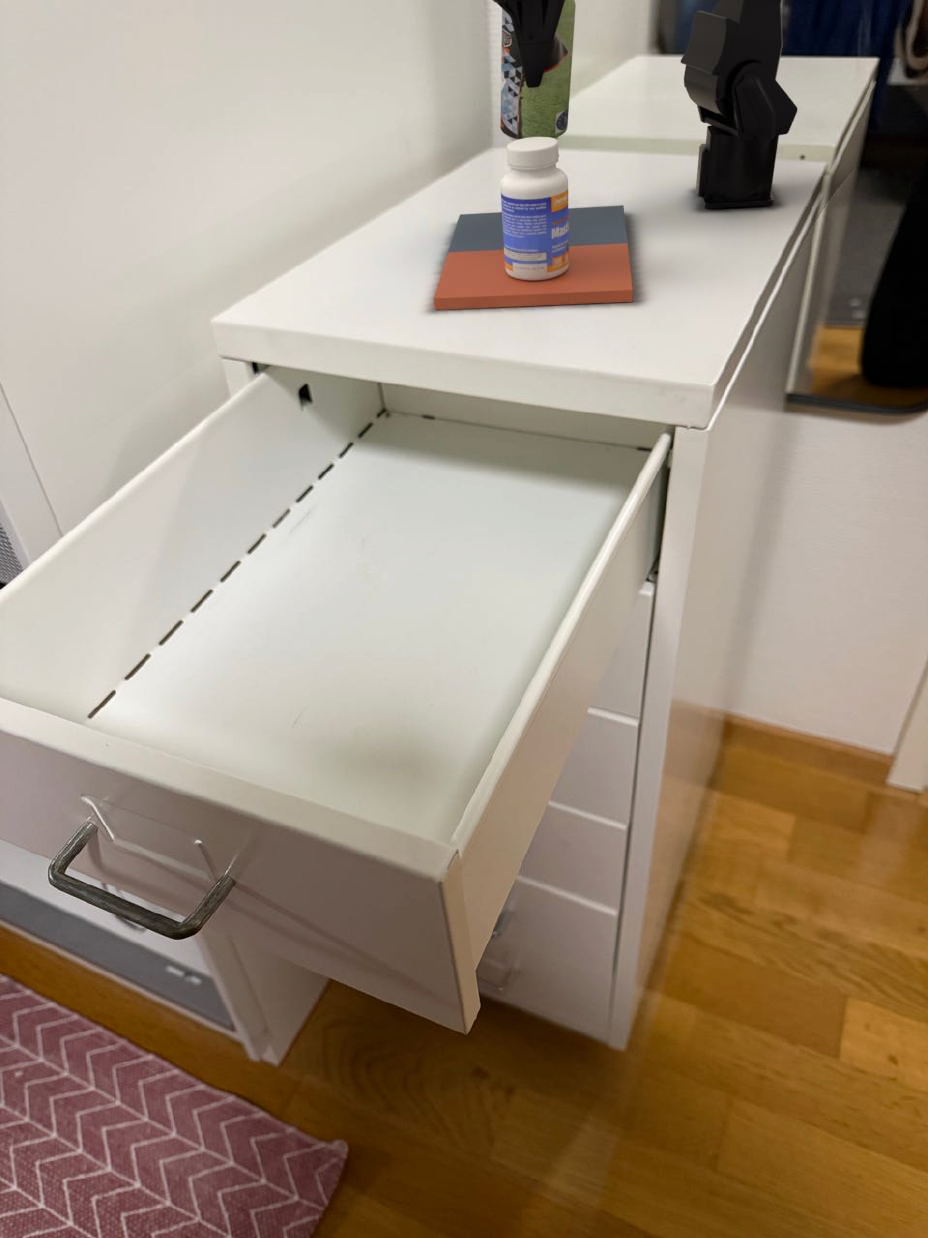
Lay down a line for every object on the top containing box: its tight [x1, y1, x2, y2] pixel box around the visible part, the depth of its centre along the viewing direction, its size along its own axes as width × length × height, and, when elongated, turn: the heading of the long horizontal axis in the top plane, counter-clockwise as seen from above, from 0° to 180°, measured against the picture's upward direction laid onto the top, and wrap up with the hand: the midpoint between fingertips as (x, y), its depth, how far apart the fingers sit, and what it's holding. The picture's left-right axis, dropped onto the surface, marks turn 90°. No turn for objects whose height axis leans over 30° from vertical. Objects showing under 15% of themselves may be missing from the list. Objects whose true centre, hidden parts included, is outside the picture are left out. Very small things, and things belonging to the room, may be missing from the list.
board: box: [433, 205, 634, 311], centre depth 78 cm, size 16×21×1 cm
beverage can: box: [499, 0, 577, 142], centre depth 75 cm, size 6×7×12 cm
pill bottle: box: [499, 137, 569, 281], centre depth 71 cm, size 5×5×10 cm
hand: (534, 80), depth 76 cm, fingers closed on beverage can, 5 cm apart
